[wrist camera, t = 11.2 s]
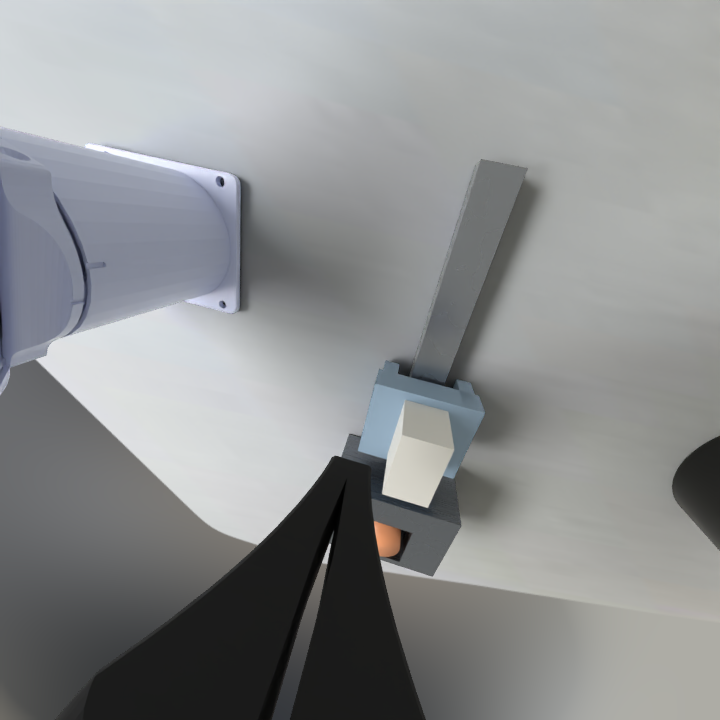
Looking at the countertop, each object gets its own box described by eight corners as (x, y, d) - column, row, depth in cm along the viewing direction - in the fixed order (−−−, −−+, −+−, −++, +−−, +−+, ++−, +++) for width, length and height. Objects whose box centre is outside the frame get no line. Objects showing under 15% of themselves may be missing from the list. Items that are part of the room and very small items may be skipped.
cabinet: (337, 482, 24) (319, 539, 20) (349, 434, 22) (331, 486, 17) (431, 511, 24) (434, 576, 19) (453, 464, 21) (462, 526, 17)
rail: (385, 449, 22) (383, 464, 21) (475, 166, 14) (481, 159, 12) (411, 456, 22) (410, 471, 20) (517, 174, 14) (527, 168, 12)
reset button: (369, 499, 23) (359, 549, 19) (375, 478, 22) (367, 527, 18) (398, 508, 22) (394, 560, 19) (406, 487, 21) (404, 539, 18)
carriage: (366, 420, 21) (346, 490, 15) (382, 359, 18) (365, 415, 13) (448, 443, 20) (459, 524, 15) (474, 383, 18) (499, 452, 12)
